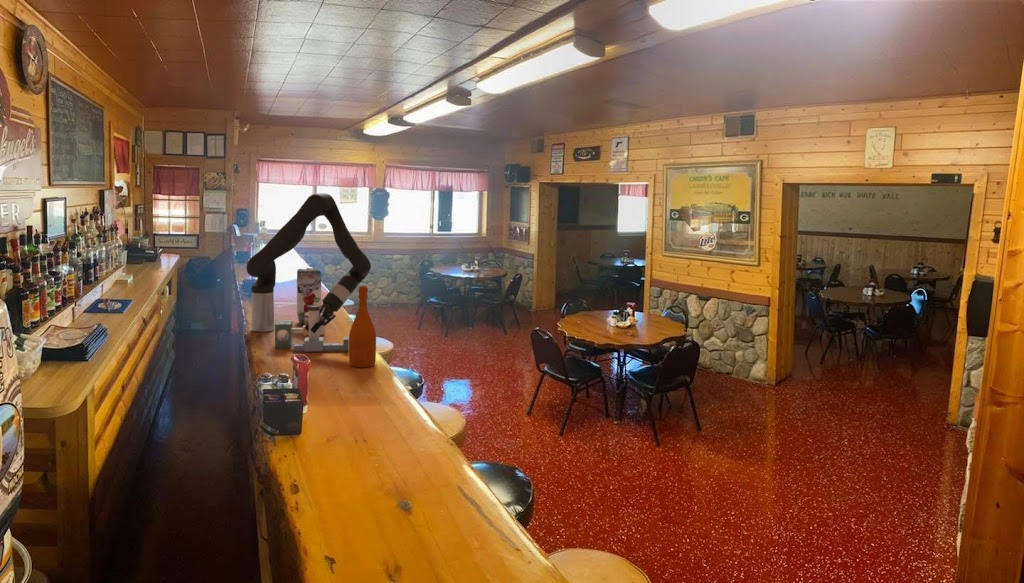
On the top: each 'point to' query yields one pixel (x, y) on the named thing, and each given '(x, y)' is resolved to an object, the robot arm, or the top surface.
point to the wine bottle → (362, 335)
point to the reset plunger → (299, 330)
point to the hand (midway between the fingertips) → (309, 330)
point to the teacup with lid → (321, 329)
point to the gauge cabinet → (283, 334)
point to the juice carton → (307, 291)
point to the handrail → (327, 346)
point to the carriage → (313, 340)
